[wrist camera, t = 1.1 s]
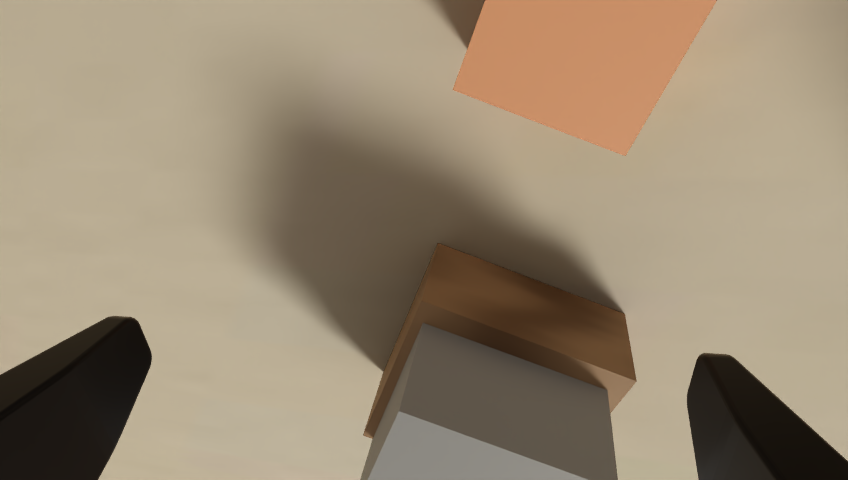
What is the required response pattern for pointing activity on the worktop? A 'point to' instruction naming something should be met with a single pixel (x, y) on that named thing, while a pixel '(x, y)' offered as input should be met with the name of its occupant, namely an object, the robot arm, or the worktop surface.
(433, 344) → the slate top block
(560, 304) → the walnut base block
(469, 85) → the terracotta block
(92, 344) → the robot arm
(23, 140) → the worktop surface
